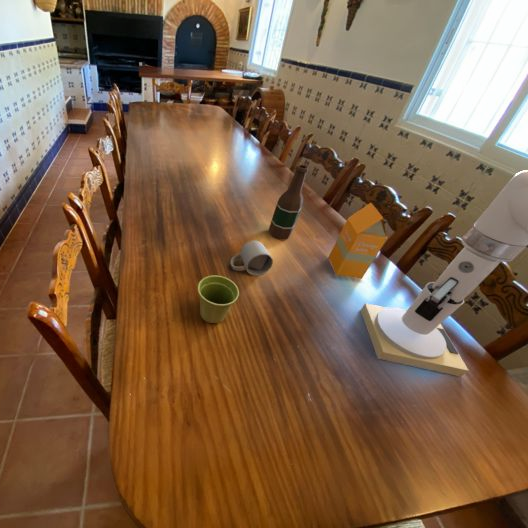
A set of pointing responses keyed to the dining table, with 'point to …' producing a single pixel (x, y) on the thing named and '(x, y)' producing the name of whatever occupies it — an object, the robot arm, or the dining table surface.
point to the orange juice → (358, 243)
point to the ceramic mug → (253, 258)
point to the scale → (410, 342)
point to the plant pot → (216, 297)
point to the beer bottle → (288, 206)
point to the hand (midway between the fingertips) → (429, 310)
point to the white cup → (420, 323)
